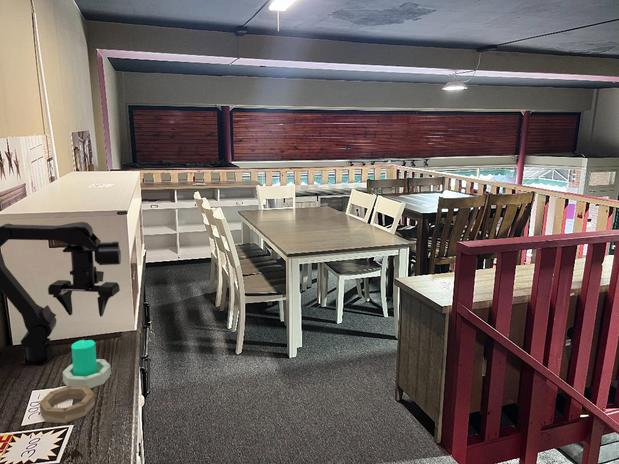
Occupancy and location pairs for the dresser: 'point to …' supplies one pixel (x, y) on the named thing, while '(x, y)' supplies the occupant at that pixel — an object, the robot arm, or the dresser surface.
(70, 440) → the dresser surface
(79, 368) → the candle
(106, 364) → the socket
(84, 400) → the socket
